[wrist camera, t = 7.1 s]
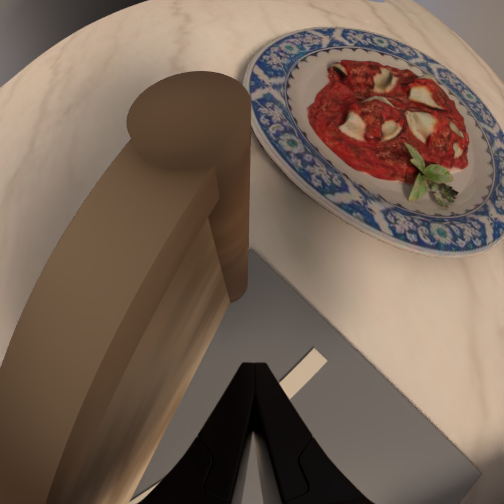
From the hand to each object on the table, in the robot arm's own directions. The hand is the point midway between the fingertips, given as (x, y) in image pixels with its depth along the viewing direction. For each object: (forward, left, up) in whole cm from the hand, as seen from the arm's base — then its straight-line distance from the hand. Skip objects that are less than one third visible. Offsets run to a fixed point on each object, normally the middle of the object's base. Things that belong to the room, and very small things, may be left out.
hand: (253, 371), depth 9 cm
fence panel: (-6, +1, -4) cm, 7 cm away
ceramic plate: (+22, +5, -7) cm, 23 cm away
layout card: (-7, -7, -6) cm, 12 cm away
